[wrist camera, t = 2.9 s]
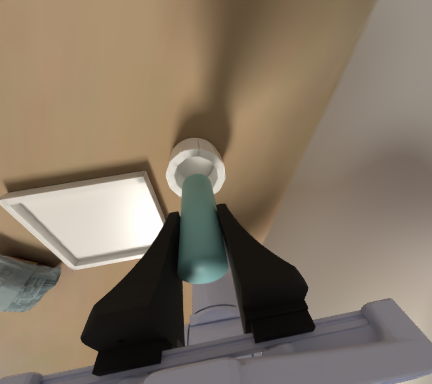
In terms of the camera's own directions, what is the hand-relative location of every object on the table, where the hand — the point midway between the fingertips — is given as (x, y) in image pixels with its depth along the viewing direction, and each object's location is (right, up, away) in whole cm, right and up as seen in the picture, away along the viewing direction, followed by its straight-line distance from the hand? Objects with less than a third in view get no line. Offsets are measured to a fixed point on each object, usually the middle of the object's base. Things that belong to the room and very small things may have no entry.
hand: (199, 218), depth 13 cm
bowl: (-1, +5, +8) cm, 10 cm away
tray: (-14, -3, +11) cm, 18 cm away
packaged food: (-30, -10, +15) cm, 35 cm away
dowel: (-1, +2, +3) cm, 4 cm away
